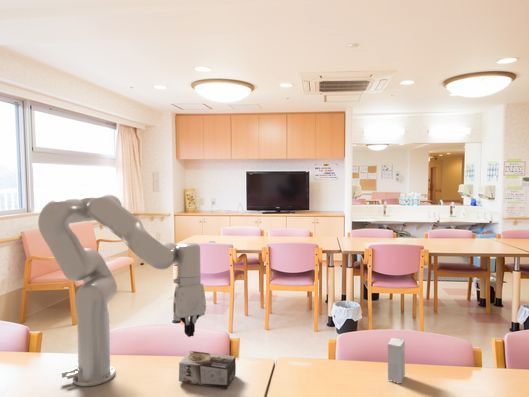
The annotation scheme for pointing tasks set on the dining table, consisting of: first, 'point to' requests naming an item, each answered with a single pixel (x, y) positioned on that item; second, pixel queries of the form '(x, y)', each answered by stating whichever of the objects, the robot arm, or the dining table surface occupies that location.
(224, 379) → the coffee box
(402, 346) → the skincare box
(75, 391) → the dining table surface
